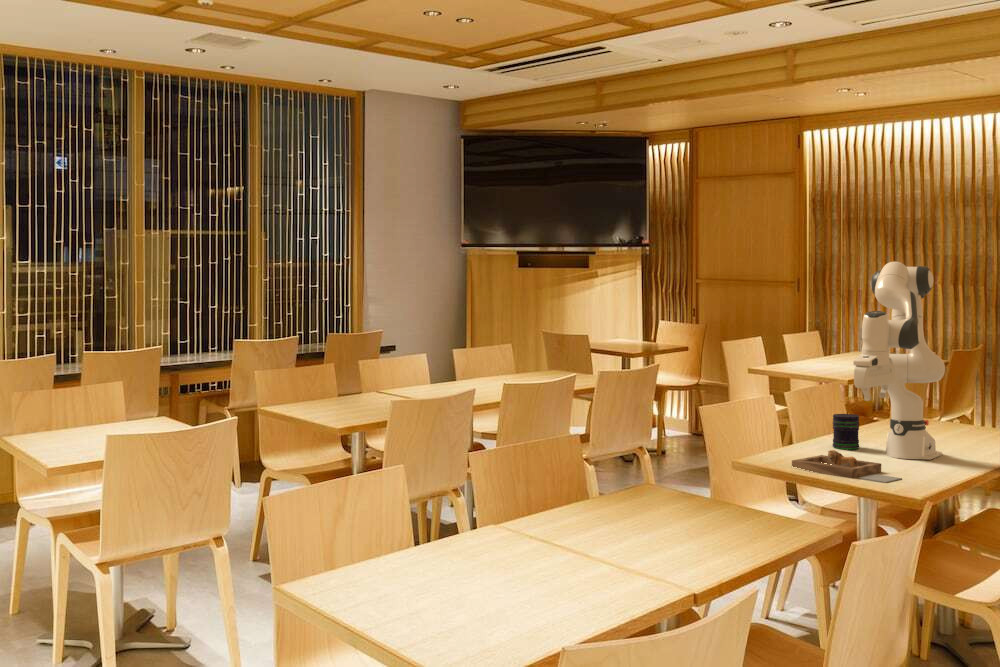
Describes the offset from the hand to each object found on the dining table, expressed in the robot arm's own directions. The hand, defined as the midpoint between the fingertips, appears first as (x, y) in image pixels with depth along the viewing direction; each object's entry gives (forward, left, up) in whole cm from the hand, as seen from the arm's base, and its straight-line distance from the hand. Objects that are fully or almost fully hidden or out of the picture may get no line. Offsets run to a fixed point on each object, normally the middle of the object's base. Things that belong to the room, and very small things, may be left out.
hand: (875, 399), depth 327 cm
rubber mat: (+4, +5, -26) cm, 27 cm away
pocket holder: (+1, -14, -26) cm, 30 cm away
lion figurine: (+1, -11, -27) cm, 29 cm away
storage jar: (-35, -33, -27) cm, 55 cm away
